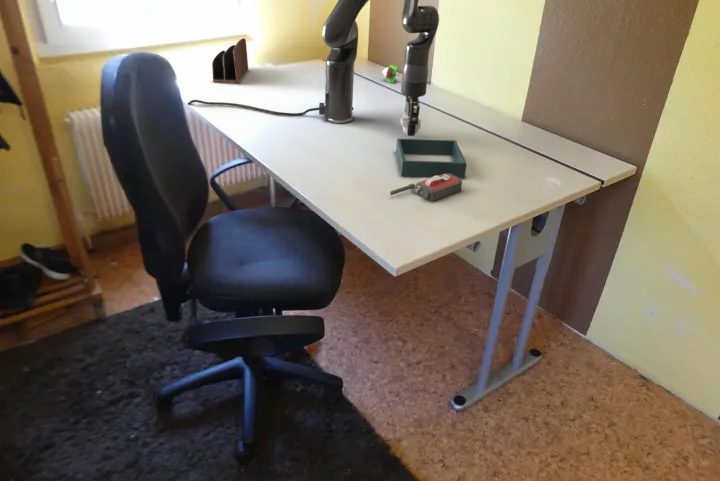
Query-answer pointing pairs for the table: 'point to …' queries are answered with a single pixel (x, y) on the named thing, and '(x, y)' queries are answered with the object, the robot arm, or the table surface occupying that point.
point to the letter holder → (231, 64)
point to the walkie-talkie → (434, 186)
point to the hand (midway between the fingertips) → (409, 131)
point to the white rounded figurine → (405, 124)
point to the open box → (430, 167)
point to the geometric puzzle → (390, 73)
